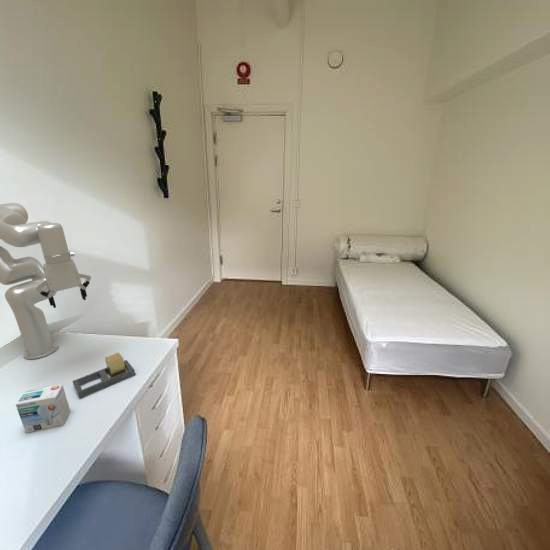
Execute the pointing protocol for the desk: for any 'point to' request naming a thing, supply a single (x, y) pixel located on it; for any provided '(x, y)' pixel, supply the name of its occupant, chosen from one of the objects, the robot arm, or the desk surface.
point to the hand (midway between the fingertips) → (69, 302)
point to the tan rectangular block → (115, 364)
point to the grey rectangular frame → (105, 380)
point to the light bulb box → (43, 408)
